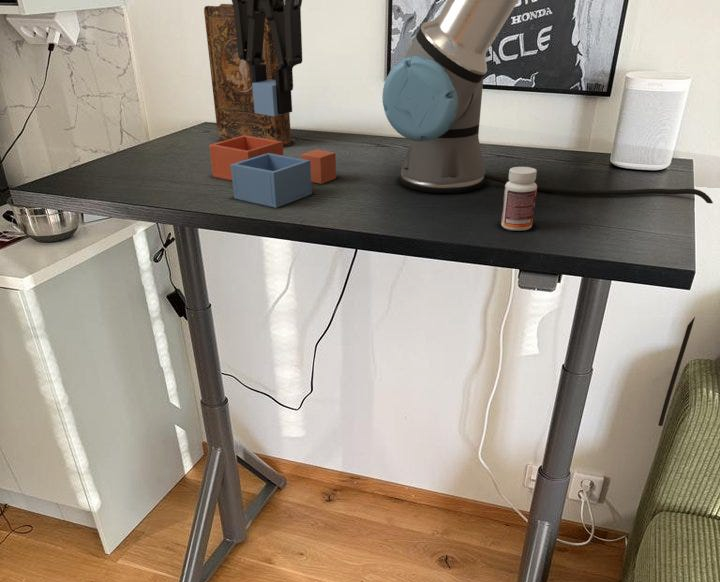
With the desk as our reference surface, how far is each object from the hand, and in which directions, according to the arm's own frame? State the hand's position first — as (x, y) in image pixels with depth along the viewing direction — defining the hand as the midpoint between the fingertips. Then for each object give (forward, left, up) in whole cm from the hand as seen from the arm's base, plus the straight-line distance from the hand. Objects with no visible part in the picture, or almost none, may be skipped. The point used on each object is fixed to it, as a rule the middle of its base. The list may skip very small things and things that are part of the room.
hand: (273, 110), depth 122 cm
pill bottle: (-44, -5, -13) cm, 46 cm away
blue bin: (-2, +4, -13) cm, 13 cm away
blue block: (0, 0, 0) cm, 0 cm away
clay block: (-2, -9, -13) cm, 16 cm away
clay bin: (+11, -4, -13) cm, 17 cm away
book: (+28, -25, -13) cm, 40 cm away
